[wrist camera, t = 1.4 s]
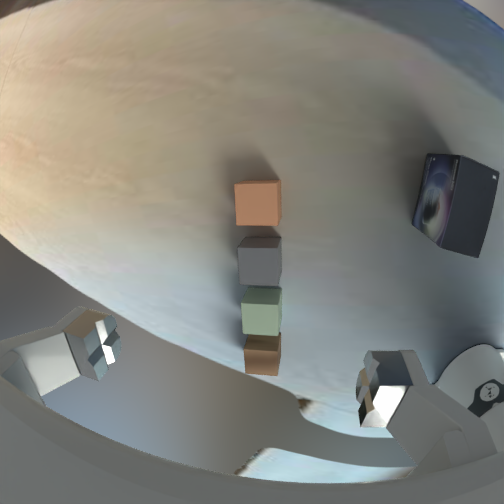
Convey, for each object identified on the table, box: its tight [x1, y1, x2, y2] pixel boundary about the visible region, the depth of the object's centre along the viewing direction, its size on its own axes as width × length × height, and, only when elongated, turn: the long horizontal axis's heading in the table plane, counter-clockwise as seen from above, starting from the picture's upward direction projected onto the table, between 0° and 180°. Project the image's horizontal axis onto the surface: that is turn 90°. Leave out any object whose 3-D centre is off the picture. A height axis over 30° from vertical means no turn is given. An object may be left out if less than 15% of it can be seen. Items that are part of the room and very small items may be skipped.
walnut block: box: [244, 333, 281, 376], centre depth 43 cm, size 5×5×5 cm
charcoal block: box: [237, 237, 282, 286], centre depth 38 cm, size 5×5×5 cm
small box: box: [412, 153, 499, 258], centre depth 28 cm, size 11×6×10 cm, turn 172°
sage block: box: [241, 287, 282, 336], centre depth 41 cm, size 5×5×5 cm
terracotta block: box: [234, 180, 282, 226], centre depth 36 cm, size 5×5×5 cm
